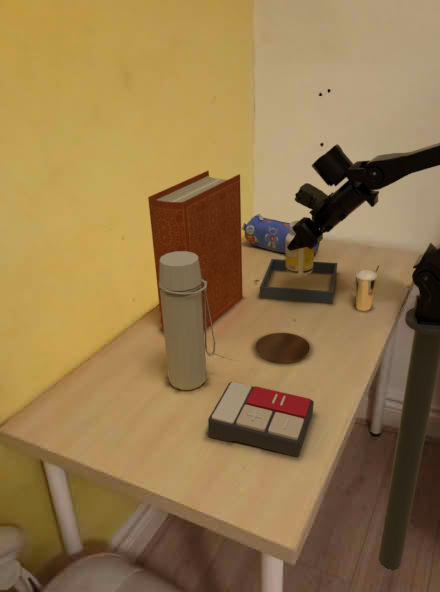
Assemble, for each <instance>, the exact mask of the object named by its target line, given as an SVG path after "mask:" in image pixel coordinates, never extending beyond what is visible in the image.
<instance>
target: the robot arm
mask: <svg viewBox="0 0 440 592" xmlns="http://www.w3.org/2000/svg"><path fill="white" fill-rule="evenodd" d="M438 166H440V142H438V143H434V144H432V145H428V146H425V147H422V148H418V149H415V150H412V151H408V152H392V153H386V154H379V155H376V156H375V157H373V158H372V159H369V160H357V161H355V162H354V163H353V162H352V160H351V159H350V158H349V156H347V155H346V153H345V152H344V150H343V149H342V147H341V146H340V145H339V144H335V145H333V146H332V147H331V148H330V149H329V150H328V151H326V152H325V153H324V154H322V155H321V156H319V157H318V158H317V159H315V161H314V162H313V163H312V164H311V167H312V169H313V170H314V172H316V174H317V175H318V176H319V177H320V178H321V180H323V182H324V183H325V184H326V185H327V187H329V186H330V187H333V186H334V187H336V188H337V186H338V185H340V184H341V183H342V182H343V181H344V180H345V179H347V180H346V181H345V182H344V183H343V184H342V185H341V186H339V187H338V188H337V189H336V190H335V191H334V192H333V191H332V192H331V193H329V195H328V194H327V193H325V192H324V191H323V190H322V189H319V188H318V187H316V186H314V185H313V184H311V183H308V182H306V183H304V184H303V185H301V186H299V189H298V191H297V192H296V193H295V194H294V195H295V197H294V201H295V202H296V203H297V204H300V205H301V206H303V207H306V208H307V209H310V211H309V214H310V215H311V217H307V216H303V217H302V218H301V219H300V220H297V221H298V222H297V223H296V224H295V225H294V226H293V227H292V228H293V231H294V232H295V233H296V235H295V236H294V238H293V239H292V241H291V242H290V243H289V245H288V246H287V248H288V250H289V251H292V250H296V249H300V248H305V247H308V248H309V249H312V248H313V247H315V246H316V245H317V244H318V243H319V242H320V243H321V241H323V239H324V234H325V233H329V232H331V231H332V230H333V229H334V228H335V227H336V226H337V225H339V224H340V223H341V222H343V221H344V220H346V219H347V217H349V216H350V215H352V213H353V212H355V211H356V210H357V209H358V208H359V207H361V206H362V205H363V204H364V203H366V202H367V204H368V205H369V206H370V208H373V207H375V206H376V205H377V204H378V203H379V195H380V190H382V189H383V188H386V187H388V186H390V185H392V184H394V183H397V181H400V180H401V179H403V178H405V177H407V176H409V175H411V174H414V173H418V172H421V171H424V170H428V169H431V168H435V167H438ZM412 269H414V270H413V273H412V275H411V278H412V282H413V284H414V285H415V287H417V288H418V292H419V294H416V295H415V301H414V307H413V308H414V316H415V317H416V319H417V323H418V324H424V325H436V326H440V243H439V244H437V245H436V246H435V245H434V244H433V243H432V242H430V243H429V244H428V246H427V247H426V249H425V251H424V252H423V253H421V254H420V255H419V256H418V257H417V259H416V260H415V262H414V264H413V266H412Z"/></svg>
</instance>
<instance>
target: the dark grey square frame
mask: <svg viewBox="0 0 440 592" xmlns="http://www.w3.org/2000/svg"><path fill="white" fill-rule="evenodd" d="M274 271H280V272H281V271H282V272H287V271H286V259H279V258H278V259H277V258H271V259H270V262H269V264H268V267H267V269H266V271H265V274H264V275H263V279H262V281H261V283H260V286H259V298H260V299H268V300H282V301H294V302H306V303H319V304H330V305H333V302H334V295H335V289H336V288H335V287H336V282H337V281H336V280H337V275H338V262H329V261H328V262H326V261H325V262H324V261H313V271H312V272H311V273H310V274H323V275H324V274H325V275H332V279H331V287H330V290H320V289H309V288H308V289H307V288H293V287H281V286H280V287H279V286H268V285H269V282H270V279H271V277H272V274H273V272H274Z"/></svg>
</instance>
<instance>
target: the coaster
mask: <svg viewBox="0 0 440 592" xmlns="http://www.w3.org/2000/svg"><path fill="white" fill-rule="evenodd" d="M310 351H311V346H310V344H309V342H308V341H307V340H306V339H305V338H303V337H302V336H299V335H298V334H293V333H288V332H275V333H270V334H266V335H263V336H262V337H261V338H258V341H256V343H255V352H256V354H257V355H258V356H259V357H260V358H262V359H263V360H265V361H267V362H270V363H273V364H281V365H288V364H295V363H299V362H300V361H303V360H304V359H306V358H307V357H308V356H309V354H310Z"/></svg>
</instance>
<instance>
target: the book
mask: <svg viewBox="0 0 440 592" xmlns="http://www.w3.org/2000/svg"><path fill="white" fill-rule="evenodd" d="M241 196H242V195H241V173H238V174H237V175H234V176H232V177H230V178H228V179H223V178H216V177H211V176H210V172H209V170H206V171H204V172H201V173H199V174H197V175H194V176H192V177H190V178H188V179H186V180H183V181H181V182H179V183H177V184H174V185H172V186H170V187H168V188H166V189H165V188H164V189H163V190H161V191H159V192H157V193H154V194H152V195H150V196H148V197H147V199H148V209H149V219H150V228H151V237H152V247H153V257H154V266H155V267H154V268H155V276H156V286H157V296H158V305H159V315H160V325H161V331H162V333H164V326H163V316H162V306H161V296H160V290H161V288H159V273H160V258H161V257H162V256H163V255H165V254H167V253H171V252H175V251H187V252H192V253H195V254H196V255H197V256H198V258H199V265H200V271H201V277H202V279H203V280H204V281H206V282H207V289H206V295H207V300H208V306H209V311H210V317H211V322H212V324H214V323H215V322H216V321H218V319H219V318H221V317H222V316H223V315H224V314H225V313H226V312H228V311H229V310H230V309H231V308H232V307H234V306H235V305H236V304H237V303H238V302H240V301H241V300H242V299H243V258H242V257H243V254H242V253H243V252H242V204H241V203H242V202H241ZM202 288H203V282H202V281H201V289H202ZM201 292H202V310H203V327H204V331H205V315H204V290H203V291H201ZM206 295H205V300H206ZM207 300H206V329H208V328H209V327H211V323H210V317H209V312H208V306H207Z"/></svg>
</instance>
